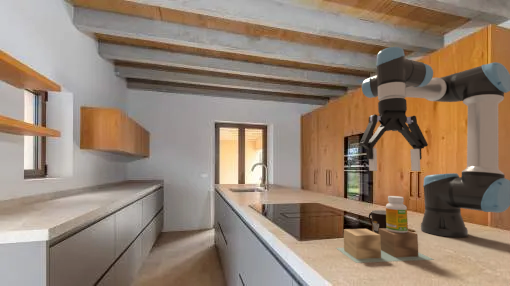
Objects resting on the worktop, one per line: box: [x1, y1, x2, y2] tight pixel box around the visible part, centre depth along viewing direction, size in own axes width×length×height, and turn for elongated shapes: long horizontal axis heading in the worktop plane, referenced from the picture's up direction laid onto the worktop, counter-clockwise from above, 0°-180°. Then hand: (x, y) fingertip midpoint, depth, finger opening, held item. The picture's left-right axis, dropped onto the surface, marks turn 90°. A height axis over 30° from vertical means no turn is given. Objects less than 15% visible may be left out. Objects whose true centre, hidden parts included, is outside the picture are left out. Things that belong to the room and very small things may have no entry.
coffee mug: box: [368, 209, 387, 234], centre depth 92 cm, size 12×9×10 cm
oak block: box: [343, 228, 381, 259], centre depth 72 cm, size 7×7×6 cm
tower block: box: [379, 228, 419, 257], centre depth 74 cm, size 7×7×6 cm
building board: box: [335, 247, 435, 264], centre depth 73 cm, size 22×12×2 cm, turn 97°
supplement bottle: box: [385, 195, 409, 233], centre depth 75 cm, size 5×5×10 cm
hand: (394, 171), depth 76 cm, fingers open, 13 cm apart
